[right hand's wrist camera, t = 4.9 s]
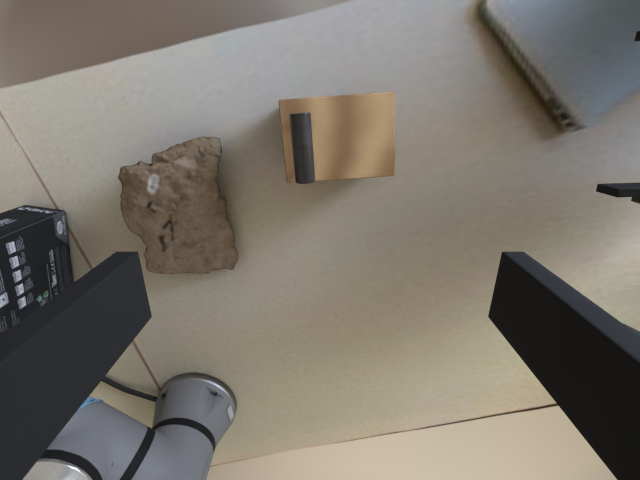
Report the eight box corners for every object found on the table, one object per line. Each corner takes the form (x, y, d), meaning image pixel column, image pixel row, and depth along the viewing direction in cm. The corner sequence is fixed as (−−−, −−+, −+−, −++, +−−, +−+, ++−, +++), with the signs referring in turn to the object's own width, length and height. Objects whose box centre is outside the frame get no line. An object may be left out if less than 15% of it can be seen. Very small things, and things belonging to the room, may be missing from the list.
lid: (287, 180, 43) (280, 199, 35) (279, 100, 40) (268, 98, 31) (392, 173, 43) (410, 191, 34) (393, 92, 40) (413, 88, 31)
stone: (108, 139, 47) (94, 151, 42) (219, 131, 50) (219, 142, 45) (150, 265, 58) (143, 287, 53) (239, 253, 60) (241, 272, 55)
